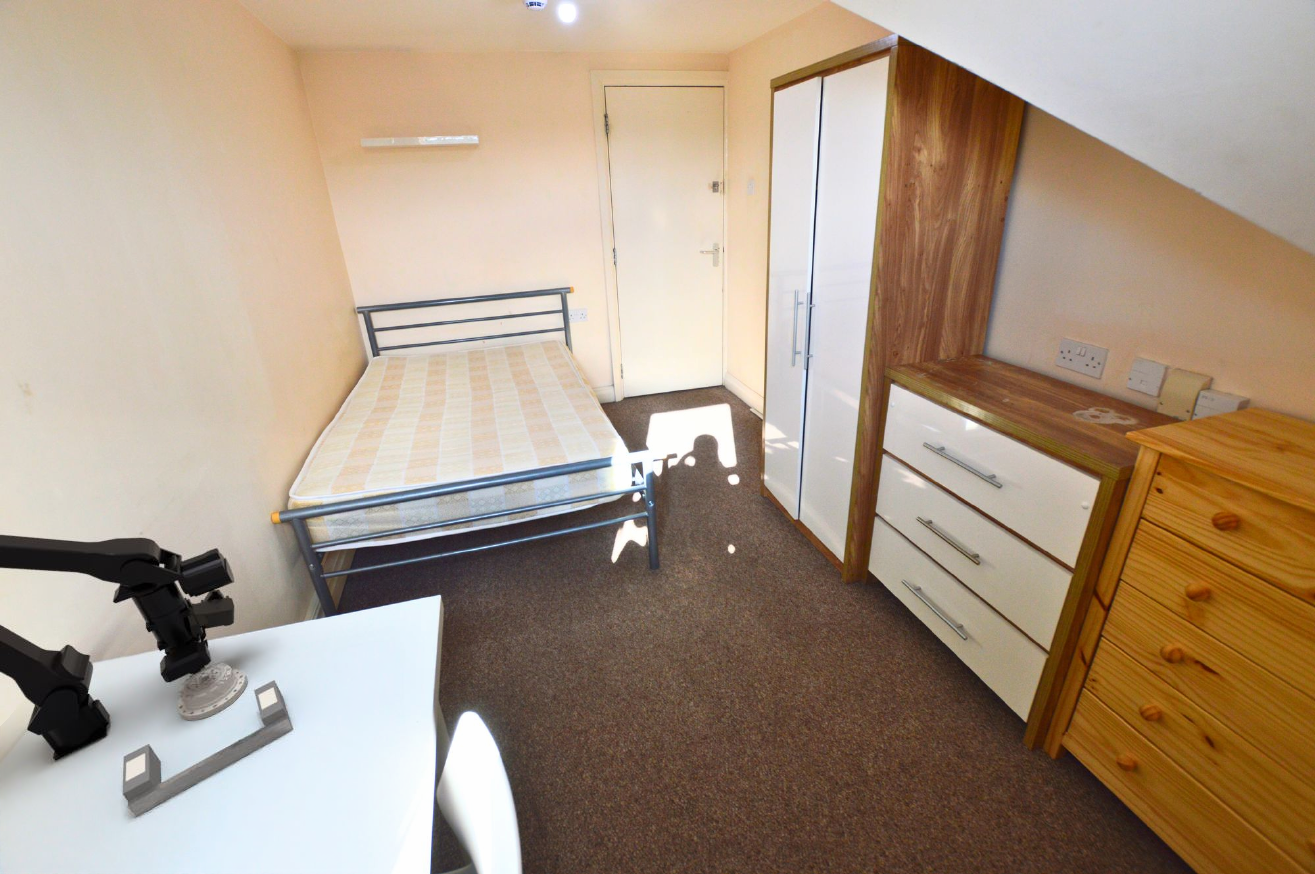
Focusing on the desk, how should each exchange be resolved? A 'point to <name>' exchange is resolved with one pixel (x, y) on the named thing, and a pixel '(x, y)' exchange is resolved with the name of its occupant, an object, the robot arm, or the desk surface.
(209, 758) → the metal rail
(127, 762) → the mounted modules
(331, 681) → the desk surface
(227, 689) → the mechanical component
